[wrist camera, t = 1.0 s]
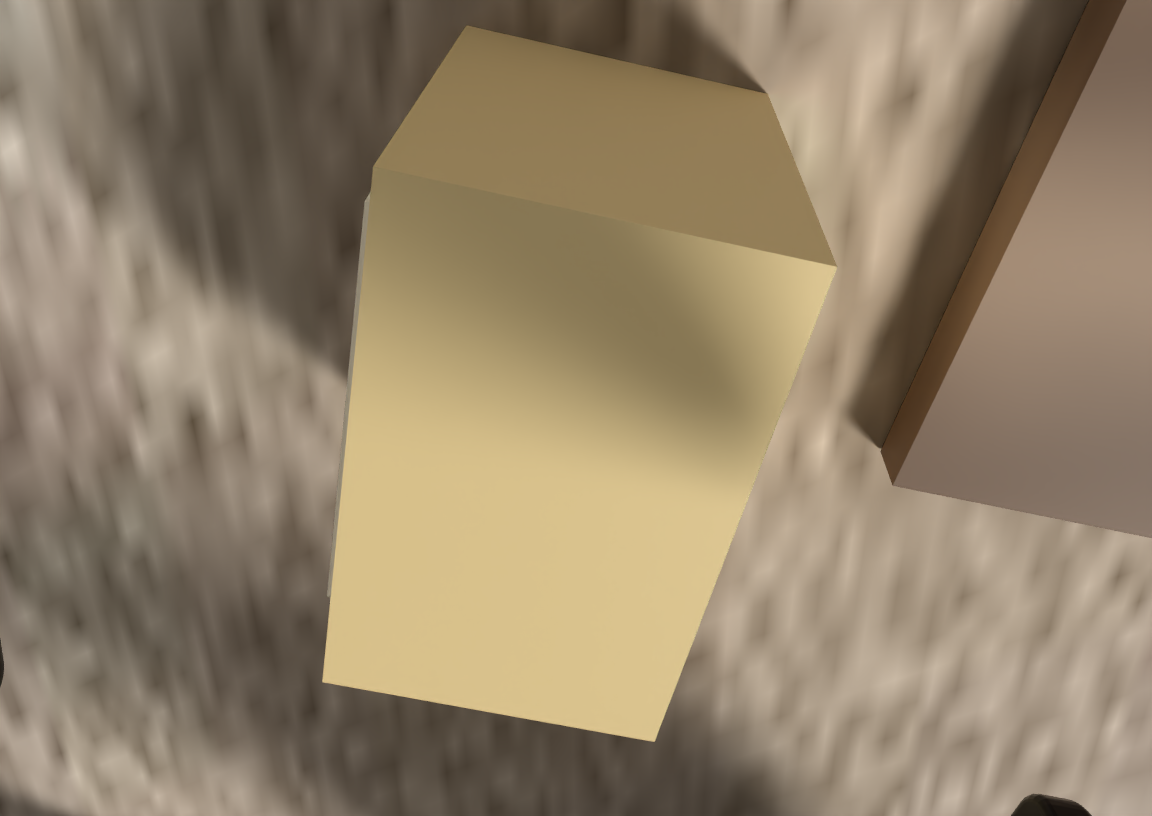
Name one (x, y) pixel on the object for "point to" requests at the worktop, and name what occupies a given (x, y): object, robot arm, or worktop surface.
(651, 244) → the ochre carton
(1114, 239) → the shelf board
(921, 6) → the worktop surface
